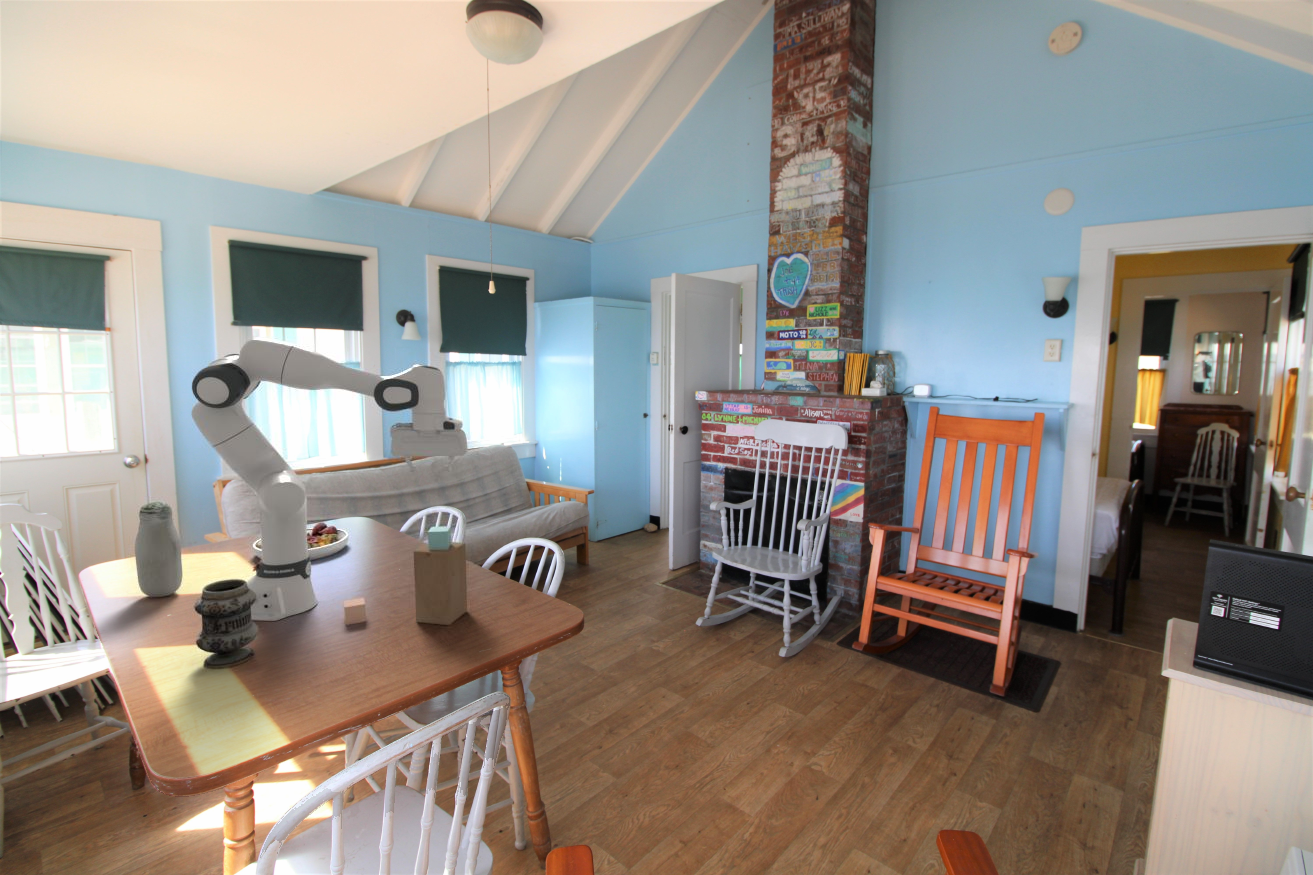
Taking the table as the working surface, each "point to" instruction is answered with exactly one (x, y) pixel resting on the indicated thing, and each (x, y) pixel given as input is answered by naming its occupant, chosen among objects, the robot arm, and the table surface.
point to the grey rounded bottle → (158, 551)
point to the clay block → (354, 611)
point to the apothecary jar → (226, 622)
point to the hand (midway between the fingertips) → (430, 471)
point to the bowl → (318, 541)
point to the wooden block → (440, 584)
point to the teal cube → (439, 538)
